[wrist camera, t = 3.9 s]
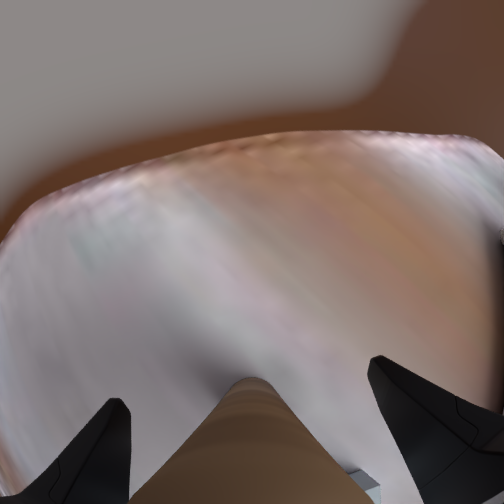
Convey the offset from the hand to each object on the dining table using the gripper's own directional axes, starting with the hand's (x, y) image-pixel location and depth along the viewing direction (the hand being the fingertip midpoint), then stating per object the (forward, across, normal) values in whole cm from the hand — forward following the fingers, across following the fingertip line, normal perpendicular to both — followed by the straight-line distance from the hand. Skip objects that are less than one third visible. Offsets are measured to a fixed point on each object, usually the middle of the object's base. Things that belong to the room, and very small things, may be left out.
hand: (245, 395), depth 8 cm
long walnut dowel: (+4, 0, +6) cm, 7 cm away
